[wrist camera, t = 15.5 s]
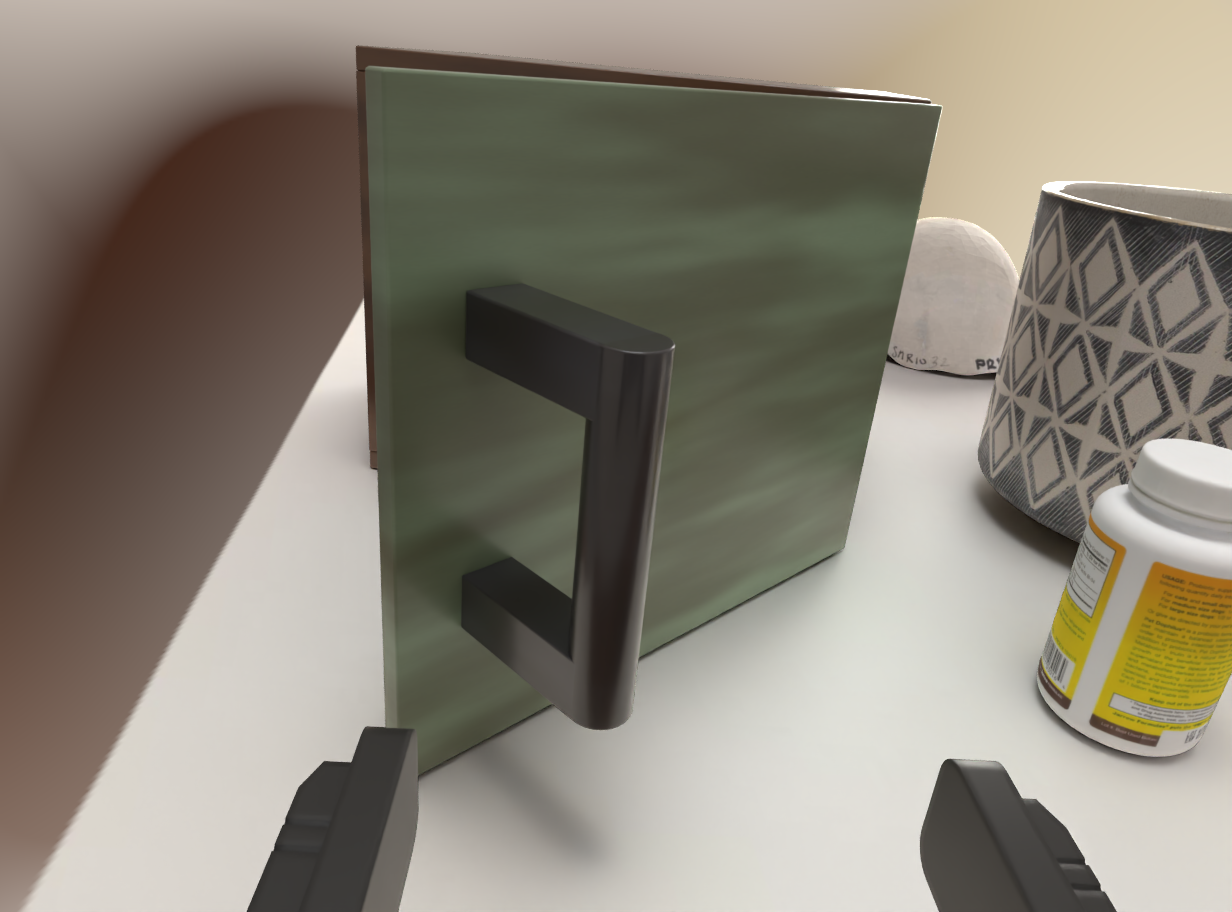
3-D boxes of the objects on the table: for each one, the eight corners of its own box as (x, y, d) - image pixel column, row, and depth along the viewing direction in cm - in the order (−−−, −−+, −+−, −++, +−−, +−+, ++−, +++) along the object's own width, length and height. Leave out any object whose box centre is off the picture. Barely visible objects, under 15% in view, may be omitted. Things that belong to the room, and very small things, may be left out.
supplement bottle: (1229, 739, 32) (1352, 486, 27) (1135, 785, 29) (1255, 514, 25) (1091, 649, 36) (1178, 420, 32) (999, 682, 33) (1080, 438, 29)
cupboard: (836, 541, 43) (932, 99, 34) (369, 468, 46) (354, 45, 37) (822, 422, 57) (887, 92, 49) (468, 372, 60) (473, 53, 52)
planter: (1308, 499, 52) (1438, 218, 45) (1435, 681, 36) (1667, 286, 29) (971, 426, 59) (1041, 171, 52) (949, 554, 42) (1046, 205, 36)
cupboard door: (960, 605, 38) (1103, 122, 30) (520, 924, 22) (568, 93, 14) (830, 541, 42) (924, 103, 34) (385, 771, 27) (363, 65, 19)
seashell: (908, 395, 85) (842, 255, 84) (1057, 335, 78) (987, 181, 77) (875, 440, 73) (796, 276, 72) (1049, 375, 65) (965, 190, 64)
